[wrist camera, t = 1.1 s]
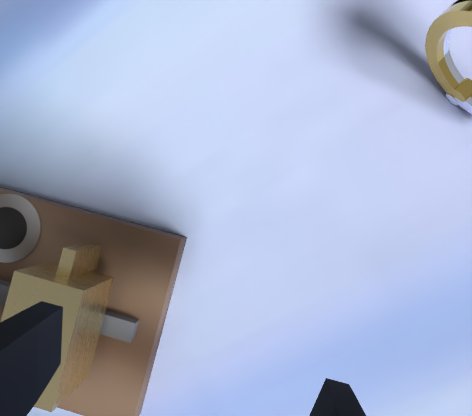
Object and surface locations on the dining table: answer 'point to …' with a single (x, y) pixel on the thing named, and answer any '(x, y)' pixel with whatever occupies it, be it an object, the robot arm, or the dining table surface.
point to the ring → (438, 54)
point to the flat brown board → (121, 296)
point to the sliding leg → (66, 312)
